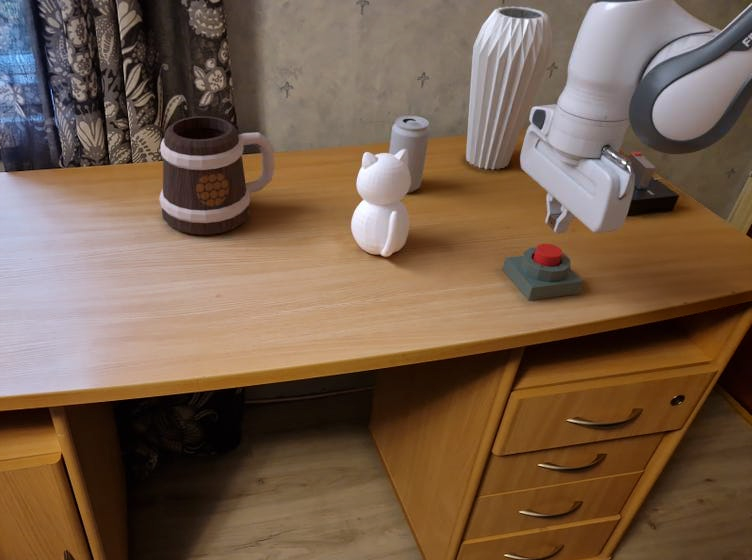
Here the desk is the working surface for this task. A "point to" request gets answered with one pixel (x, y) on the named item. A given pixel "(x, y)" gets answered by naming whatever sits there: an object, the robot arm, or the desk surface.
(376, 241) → the cat figurine
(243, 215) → the mug
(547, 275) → the button block
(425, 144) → the beverage can
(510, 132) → the vase
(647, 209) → the block
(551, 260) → the button
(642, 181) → the tap handle
